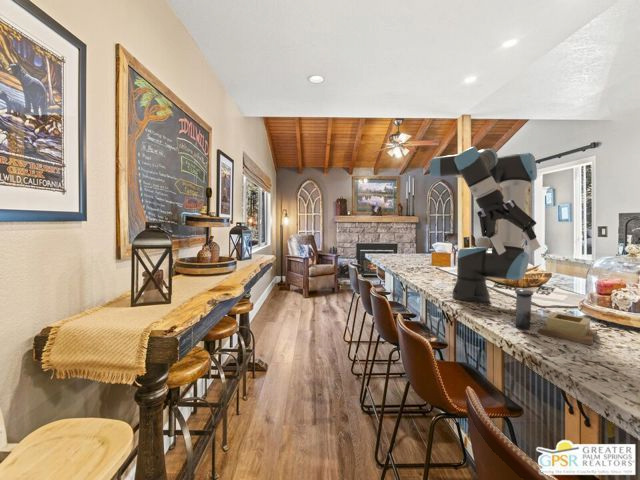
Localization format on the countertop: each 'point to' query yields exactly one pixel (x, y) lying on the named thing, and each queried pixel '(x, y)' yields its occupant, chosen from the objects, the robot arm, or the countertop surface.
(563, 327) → the square socket frame
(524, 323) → the pin
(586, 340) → the socket base
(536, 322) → the countertop surface
